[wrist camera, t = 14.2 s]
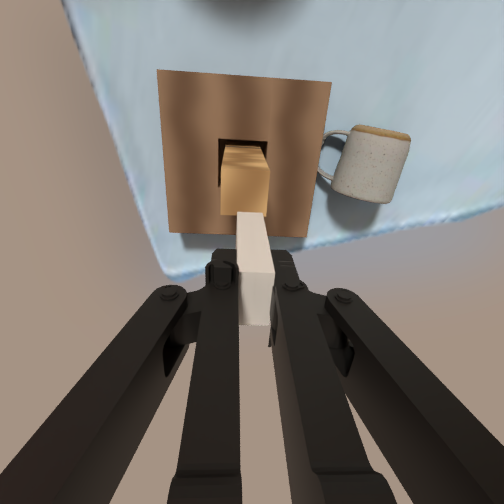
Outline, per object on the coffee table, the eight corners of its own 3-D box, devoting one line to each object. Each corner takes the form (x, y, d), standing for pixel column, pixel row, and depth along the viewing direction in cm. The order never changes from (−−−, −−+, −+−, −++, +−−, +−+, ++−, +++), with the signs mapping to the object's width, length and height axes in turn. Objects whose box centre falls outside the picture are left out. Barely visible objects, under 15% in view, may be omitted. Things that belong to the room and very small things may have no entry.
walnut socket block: (320, 83, 36) (331, 82, 31) (299, 222, 44) (306, 237, 40) (166, 72, 34) (156, 69, 30) (176, 217, 43) (169, 232, 38)
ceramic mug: (397, 130, 38) (430, 138, 32) (375, 191, 42) (400, 210, 36) (318, 115, 37) (335, 120, 31) (302, 179, 41) (314, 196, 34)
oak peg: (258, 142, 37) (270, 170, 24) (256, 174, 39) (266, 216, 26) (226, 140, 37) (220, 168, 24) (225, 173, 39) (220, 214, 26)
